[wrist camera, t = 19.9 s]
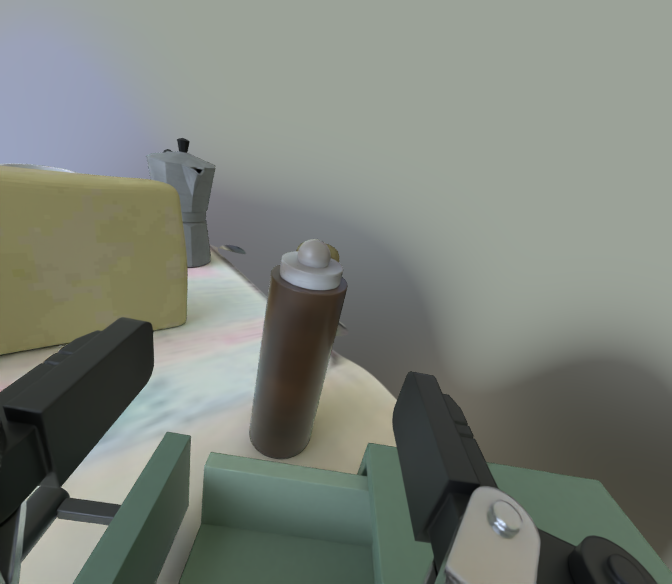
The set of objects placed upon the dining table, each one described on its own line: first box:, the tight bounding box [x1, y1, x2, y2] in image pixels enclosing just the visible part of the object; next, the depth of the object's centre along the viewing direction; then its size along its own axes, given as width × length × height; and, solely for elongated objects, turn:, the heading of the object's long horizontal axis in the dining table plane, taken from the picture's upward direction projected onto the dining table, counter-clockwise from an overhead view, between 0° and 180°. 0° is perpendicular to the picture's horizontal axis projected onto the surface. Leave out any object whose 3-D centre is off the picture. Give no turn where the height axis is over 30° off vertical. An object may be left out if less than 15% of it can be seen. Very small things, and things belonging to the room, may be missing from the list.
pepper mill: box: [249, 239, 347, 459], centre depth 22 cm, size 5×5×16 cm
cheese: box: [0, 165, 188, 355], centre depth 26 cm, size 22×10×15 cm, turn 121°
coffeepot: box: [146, 138, 215, 268], centre depth 48 cm, size 15×9×18 cm, turn 41°
